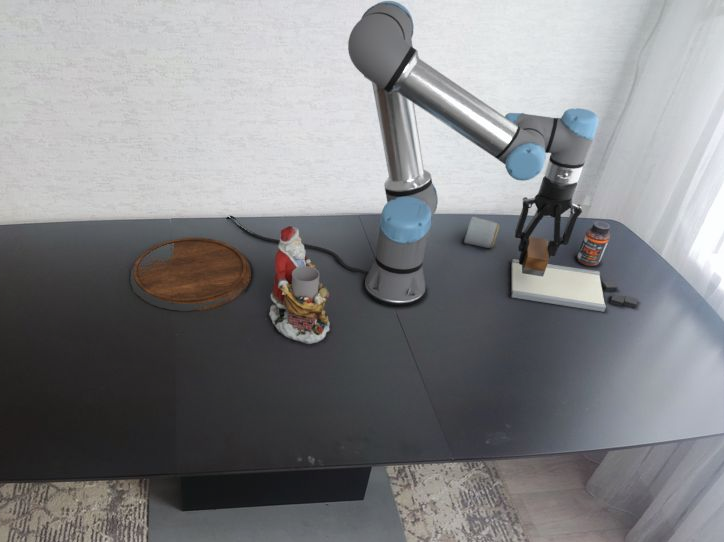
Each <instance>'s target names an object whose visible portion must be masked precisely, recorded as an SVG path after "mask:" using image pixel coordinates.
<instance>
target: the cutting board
mask: <svg viewBox="0 0 724 542" xmlns="http://www.w3.org/2000/svg"><path fill="white" fill-rule="evenodd" d="M172 243H174V249H173V250H174V251H173V250H172V251H173V257H172V256H171V257H172V258H171V257H169V259H168V261H167V260H165V262H164V261H160V262H159V260H155V262H154V261H150V263H151V262H152V264H151V265H152V266H151V265H147V267H148V266H149V268H145V270H144V268H143V267H142V268H141V266H142V265H141V266H140V268H139V269H140V271H139V269H138V266H139V264H140V262H141V261H142V259H143V258H144V257H145V256H146V255H147V254H149V253H150V252H151V251H153V250H155V249H157V248H159V247H161V246H164V245H167V244H172ZM172 246H173V245H172ZM171 249H172V248H171ZM171 249H170V250H171ZM170 250H169V251H170ZM157 258H158V257H157ZM157 258H156V259H157ZM170 258H171V259H170ZM149 259H150V258H149ZM151 259H152V258H151ZM158 259H159V258H158ZM161 259H162V258H161ZM161 259H160V260H161ZM166 259H167V258H166ZM146 260H147V259H146ZM153 260H154V259H153ZM163 260H164V258H163ZM153 262H154V264H153ZM156 262H157V263H158V262H159V264H155V263H156ZM161 262H162V264H160V263H161ZM163 262H164V264H163ZM166 262H167V264H165V263H166ZM169 262H170V263H169ZM143 263H144V262H143ZM148 263H149V262H148ZM148 263H147V264H148ZM134 264H135V265H134ZM134 264H133V265H134V270H133V274H134V280H135V282H136V284H138V286H139V287H140V288H141V289H142V290H143V291H145V292H146V293H147V294H149V295H151V296H153V297H155V298H158V299H160V300H165V301H168V302H173V303H179V304H196V303H198V304H200V303H207V302H212V301H216V300H219V299H221V298H225V297H228V296H231V295H232V294H234V293H236V292H237V291H239V290H240V289H241V288H243V287H244V286H245V287H244V288H243V289H242V290H241V291H240V292H239V293H237V294H236V295H234V296H233V297H231V298H229V299H227V300H225V301H222V302H220V303H217V304H214V305H209V306H205V307H201V309H200V310H199V311H206V310H210V309H215V308H217V307H220V306H223V305H225V304H228V303H230V302H232V301H233V300H234V299H236V298H238V297H239V296H240V295H241V294H242V293H243V292H245V290H246V289H247V287H248V286H249V284H250V282H251V276H252V270H251V265H250V262H249V261H248V260H247V258H246V257H245V255H244V254H242V252H241V251H239V250H238V249H237V248H235V247H234V246H232V245H230V244H229V243H227V242H224V241H220V240H217V239H214V238H213V239H212V238H208V237H207V238H206V237H182V238H176V239H171V240H168V241H164V242H161V243H159V244H155V245H154V246H152V247H150V248H149V249H147V250H146V251H145V252H143V253H142V254H141V255H140V256H138V258H137V259H136V261H135V263H134ZM145 264H146V262H145ZM153 265H154V267H153ZM158 265H159V267H158ZM143 266H144V265H143ZM150 266H151V268H150ZM155 266H156V267H155ZM160 266H161V267H160ZM163 266H164V267H163ZM165 266H166V267H165ZM145 267H146V265H145ZM141 269H142V270H141ZM146 269H147V270H146ZM148 269H149V270H148ZM150 269H151V270H150ZM142 271H143V272H142ZM144 271H145V272H144ZM137 272H138V273H137ZM139 272H140V273H139ZM138 274H139V275H138ZM140 274H141V275H140ZM142 274H143V275H142ZM249 277H250V278H249ZM247 282H248V283H247ZM246 283H247V284H246ZM245 284H246V285H245ZM192 309H194V308H192ZM197 309H198V308H196V309H195V310H197ZM202 309H203V310H202ZM199 311H198V312H199Z"/></svg>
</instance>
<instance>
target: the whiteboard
mask: <svg viewBox="0 0 724 542" xmlns="http://www.w3.org/2000/svg"><path fill="white" fill-rule="evenodd" d="M510 264H511V265H510V266H511V273H510V274H511V278H510V279H511V281H510V282H511V291H510V294H511V295H510V297H511V298H513V299H520V300H526V301H532V302H540V303H546V304H550V305H551V304H553V305H559V306H565V307H571V308H578V309H584V310H589V311H596V312H603V313H604V312H605V311H606V308H607V304H605V300H604V298H605V297H604V293H603V287H602V286H601V284H602V282H601V273H600V271H599V270H591V269H585V268H579V267H571V266H565V265H557V264H551V263H548V264H547V267H546V270H545V273H544V276H543V277H542V276H536V275H530V274H523V273H522V265H520V264H519V259H517V258H512V259H511V263H510Z"/></svg>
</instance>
